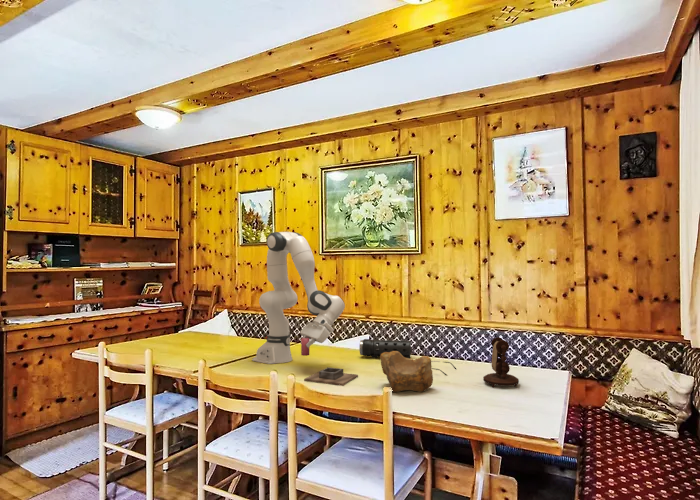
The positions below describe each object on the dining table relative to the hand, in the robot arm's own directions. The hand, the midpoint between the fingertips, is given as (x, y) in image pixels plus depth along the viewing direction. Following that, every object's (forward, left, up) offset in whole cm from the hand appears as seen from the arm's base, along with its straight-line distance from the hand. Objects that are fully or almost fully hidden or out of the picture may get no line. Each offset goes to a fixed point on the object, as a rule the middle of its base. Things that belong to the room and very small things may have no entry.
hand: (304, 345), depth 216 cm
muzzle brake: (+25, +47, -14) cm, 55 cm away
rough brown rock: (+53, -6, -14) cm, 55 cm away
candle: (0, +1, -5) cm, 5 cm away
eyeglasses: (+57, +31, -14) cm, 66 cm away
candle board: (+17, -3, -14) cm, 22 cm away
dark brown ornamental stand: (+90, +18, -14) cm, 92 cm away
